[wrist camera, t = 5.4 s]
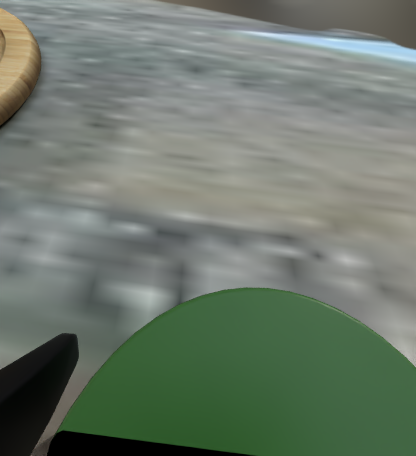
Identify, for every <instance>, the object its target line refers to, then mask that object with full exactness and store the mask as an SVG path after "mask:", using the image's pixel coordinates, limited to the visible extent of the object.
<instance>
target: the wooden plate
mask: <svg viewBox="0 0 416 456" xmlns="http://www.w3.org/2000/svg"><path fill="white" fill-rule="evenodd" d="M40 70H41V53H40V49H39V46H38V43H37V41H36V39H35V37H34V36H33V34H32V33H31V31H30V30H29V29H28V28H27V26H26V25H25V24H24V23H23V22H22V21H20V20H19V19H18V18H17V17H15V16H14V15H12V14H10V13H8V12H7V11H5V10H3V9H1V8H0V125H2V124H3V123H4V122H5V121H6V120H7V119H9V118H10V117H11V116H12V115H13V114H14V112H15V111H17V110H18V109H19V108H20V107H21V105H22V104H23V103H24V102H25V100H26V99H27V98H28V97H29V95H30V94H31V92H32V90H33V89H34V87H35V85H36V82H37V80H38V76H39V73H40Z"/></svg>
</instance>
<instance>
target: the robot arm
mask: <svg viewBox="0 0 416 456" xmlns="http://www.w3.org/2000/svg"><path fill="white" fill-rule="evenodd" d="M78 358H79V350H78V339H77V336H76V335H75V334H69V333H62V334H60V335H58V336H56V337H55V338H53V339H51V340H50V341H48V342H46V343H45V344H43V345H41V346H40V347H38V348H36V349H34V350H33V351H31V352H29V353H28V354H26V355H24V356H23V357H21V358H19V359H18V360H16V361H14V362H13V363H11V364H9V365H8V366H6V367H4V368H2V369H1V370H0V456H30V454H31V453H32V451H33V449H34V447H35V446H36V444H37V442H38V440H39V439H40V437H41V435H42V433H43V432H44V430H45V428H46V426H47V425H48V423H49V421H50V419H51V417H52V415H53V413H54V411H55V409H56V407H57V405H58V402H59V400H60V398H61V396H62V394H63V392H64V390H65V387H66V385H67V383H68V381H69V379H70V377H71V375H72V373H73V370H74V368H75V366H76V364H77V361H78Z"/></svg>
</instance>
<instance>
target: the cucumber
mask: <svg viewBox="0 0 416 456" xmlns="http://www.w3.org/2000/svg"><path fill="white" fill-rule="evenodd" d="M47 456H416V367H415V366H414V365H413V364H412V363H411V362H410V361H409V360H408V359H407V358H406V357H405V356H404V355H403V354H401V353H400V352H399V351H398V350H397V349H395V348H394V347H393V346H392V345H391V344H390V343H388V342H387V341H386V340H385V339H384V338H383V337H381V336H380V335H378V334H377V333H376V332H374V331H373V330H371V329H370V328H368V327H367V326H366V325H364V324H363V323H361V322H360V321H358V320H357V319H355V318H353V317H351V316H349V315H348V314H346V313H344V312H342V311H340V310H339V309H337V308H335V307H332V306H330V305H328V304H325V303H323V302H321V301H318V300H316V299H313V298H311V297H307V296H304V295H300V294H297V293H293V292H290V291H283V290H277V289H270V288H237V289H228V290H222V291H218V292H214V293H210V294H206V295H202V296H199V297H197V298H194V299H191V300H189V301H186V302H184V303H181V304H179V305H177V306H175V307H174V308H172V309H170V310H168V311H166V312H165V313H163V314H161V315H159V316H157V317H156V318H155V319H153V320H152V321H151V322H149V323H148V324H147V325H145V326H144V327H142V328H141V329H140V330H138V331H137V332H136V333H134V334H133V335H132V336H131V337H130V338H129V339H128V340H127V341H126V342H125V343H124V344H123V345H121V346H120V347H119V348H118V349H117V350H116V351H115V352H114V353H113V354H112V355H111V356H110V357H109V359H108V360H107V361H106V362H105V363H104V364H103V365H102V367H101V368H100V369H99V370H98V371H97V372H96V373H95V375H94V376H93V377H92V378H91V380H90V381H89V382H88V384H87V385H86V387H85V388H84V389H83V391H82V392H81V394H80V395H79V397H78V398H77V399H76V401H75V402H74V404H73V405H72V406H71V408H70V410H69V411H68V413H67V415H66V416H65V418H64V420H63V422H62V423H61V425H60V427H59V429H58V430H57V432H56V434H55V436H54V437H53V439H52V441H51V443H50V446H49V450H48V453H47Z"/></svg>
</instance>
